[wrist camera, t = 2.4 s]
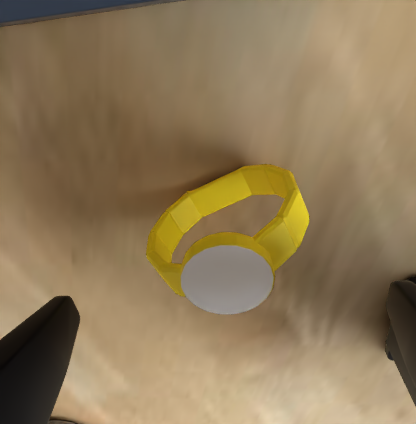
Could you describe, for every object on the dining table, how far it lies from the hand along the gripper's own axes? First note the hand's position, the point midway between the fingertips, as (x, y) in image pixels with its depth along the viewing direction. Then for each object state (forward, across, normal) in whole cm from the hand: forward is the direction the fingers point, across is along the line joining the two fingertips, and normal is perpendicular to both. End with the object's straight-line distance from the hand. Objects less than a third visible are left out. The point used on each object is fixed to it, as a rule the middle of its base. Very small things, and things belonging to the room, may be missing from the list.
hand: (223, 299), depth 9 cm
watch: (+7, 0, 0) cm, 7 cm away
